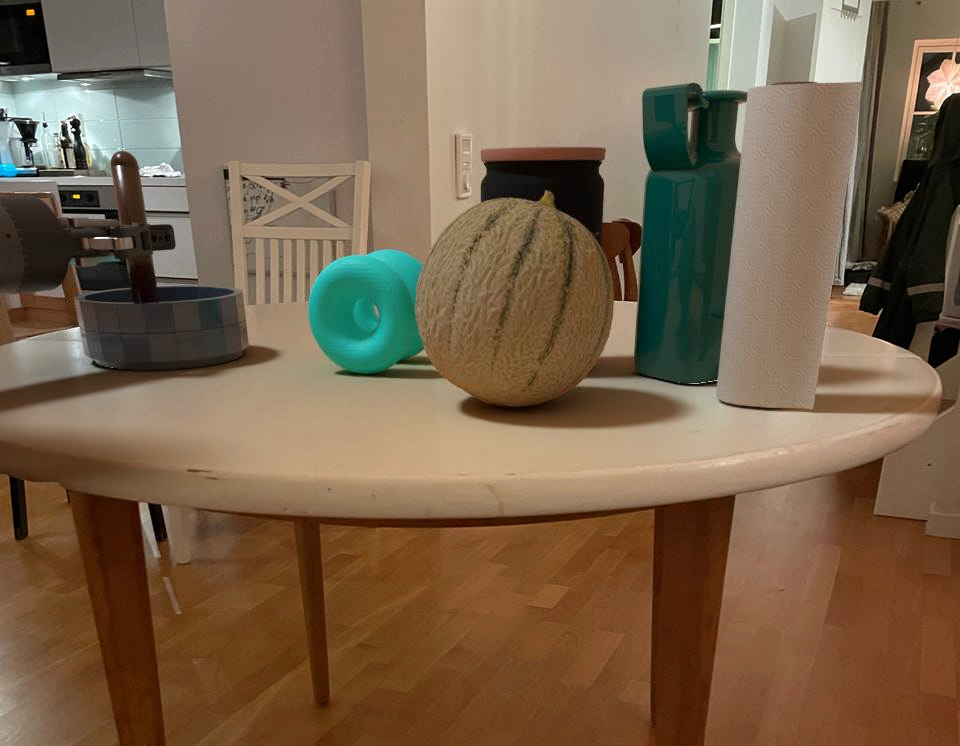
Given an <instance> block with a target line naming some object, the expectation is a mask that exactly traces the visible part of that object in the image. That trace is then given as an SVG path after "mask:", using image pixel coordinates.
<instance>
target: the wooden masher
mask: <svg viewBox="0 0 960 746" xmlns="http://www.w3.org/2000/svg"><path fill="white" fill-rule="evenodd" d="M109 164H110V170H111V176H112V182H113V189H114V194H115V195H114V196H115V201H116V206H117V213H118V219H119V220H118V221H119V222H120V224H121V225H132V223H138V225H139V224H145V225H148V224H149V223H148V218H147V212H146V205H145V199H144V194H143V193H144V192H143V186H142V185H143V184H142V179H141V172H140V167H139V162H138V160H137V159H136V157H135V156H134V155H133V154H132V153H131V152H128V151H126V150H119V151H116V152H115V153H113V155H112V156H111V159H110V163H109ZM125 261H126V267H127V274H128V279H129V286H130V288H131V293H132V299H133V303H148V302H159V296H158V290H157V286H158V285H157V277H156V271H155V265H154V259H153V255H149V256H146V257H145V256H141V257H135V258H129V259H126V260H125Z"/></svg>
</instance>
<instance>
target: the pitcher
mask: <svg viewBox="0 0 960 746" xmlns="http://www.w3.org/2000/svg"><path fill="white" fill-rule="evenodd" d="M747 94H748V91H744V90H735V89H717V90H716V89H715V90H713V89H711V90H703V88H702V86H701V85H700V83H697V82H688V83H679V84H678V83H677V84H670V85H664V86H663V85H662V86H655V87H648V88H645V89H644V90H643V91H642V96H641V102H642V103H641V108H642V111H641V112H642V113H641V114H642V115H641V116H642V141H643V148H644V149H643V150H644V154H645V157H646V160H647V163H648V165H649V168H650V169H649V170H648V172H647V175H646V177H645V181H644V191H643V204H642V206H643V207H642V221H641V223H642V224H641V238H640V251H639V252H640V253H639V254H640V256H639V270H638V282H637V283H638V284H637V285H638V287H637V301H636V316H635V329H634V333H635V334H634V347H633V348H634V349H633V363H632V364H633V365H632V368H633V371H634V372H635V373H637V374H638V375H641V374H643V375H642V376H644V375H648V376H647V377H649V376H652V377H651V378H653V377H656V378H655V379H657V378H660V379H659V380H661V379H664V380H663V381H666V380H669V381H668V382H670V381H673V382H672V383H674V382H680V383H701V382H708V381H714V380H718V371H719V361H720V352H721V342H722V333H723V323H724V314H725V304H726V295H727V285H728V276H729V266H730V256H731V247H732V237H733V228H734V218H735V209H736V199H737V190H738V180H739V171H740V161H741V152H740V151H739V149H738V147H737V143H736V135H737V134H736V133H737V124H738V114H739V105H743V104H747ZM689 113H691V118H690V129H689ZM689 130H690V131H689Z"/></svg>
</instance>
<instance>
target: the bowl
mask: <svg viewBox="0 0 960 746" xmlns="http://www.w3.org/2000/svg"><path fill="white" fill-rule="evenodd" d="M157 290H158V296H159V302H148V303H133V299H132V293H131V287H124V288H123V287H122V288H114V289H113V288H112V289H105V290H98V291H91V292H86V293H81V294H78V295H76V296H75V297H73V301H74V307H75V311H76V316H77V322H78V326H79V332H80V338H81V342H82V347H83V352H84V355H85V356H86V357H88V358H89V359H91V360H94V363H95V362H96V363H97V364H99V365H102V366H107V367H113V368H120V369H119V370H122V369H132V370H131V371H168V370H169V371H171V370H182V369H192V368H193V369H194V368H201V367H208V366H215V365H219V364H224V363H227V362H228V363H229V362H231V361H234V360H236V359H237V360H238V358H240V357H242V356H243V351H244V350H247V349H248V348H249V347H250V342H249V334H248V326H247V317H246V309H245V301H244V300H245V299H244V292H243V290H242V289H240V288H236V287H230V286H229V287H228V286H218V285H157ZM96 363H95V364H96ZM97 364H96V365H97ZM99 365H98V366H99ZM102 366H101V367H102ZM133 369H134V370H133Z"/></svg>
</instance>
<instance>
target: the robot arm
mask: <svg viewBox="0 0 960 746" xmlns="http://www.w3.org/2000/svg"><path fill="white" fill-rule="evenodd" d="M147 224H148V225H145V224H139V225H138V223H132V225H121V224H120V220H118V219H110V218H108V219H95V218H88V217H81V216H76V217H75V216H74V217H73V216H72V217H70V216H57V214H56V213H55V212H54V211H53V209H52V208H51V207H50V206H49V205H48V203H46V202H45V201H44V200H42V199H41V198H40V197H37V196H36V195H35V196H34V195H31V194H6V195H5V194H2V195H0V296H9V295H17V294H18V295H19V294H28V293H29V294H30V293H38V292H49V291H53V290H56V289H57V288H59V287H60V286H61V285H62V283H64V281H65V279H66V277H67V274H68V268H69V266H75V268H86V267H87V268H88V267H96V266H97V265H98V264H100V263H101V264H102V263H115V262H123V261H126V259H129V258H135V257H141V256H145V257H146V256H149V255H152V256H154V252H158V251H171V250H175V248H176V244H177V243H176V237H175V230H174V227H173V225H172V224H170V223H169V224H168V223H161V224H159V223H158V224H150V223H147Z"/></svg>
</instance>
